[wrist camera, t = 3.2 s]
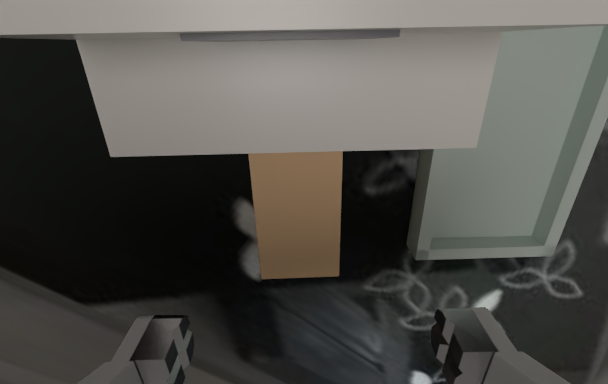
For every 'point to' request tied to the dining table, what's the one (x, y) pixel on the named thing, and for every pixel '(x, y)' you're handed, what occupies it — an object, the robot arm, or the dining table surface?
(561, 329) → the dining table surface
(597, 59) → the tray
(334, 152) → the brown shipping carton
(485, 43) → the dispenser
